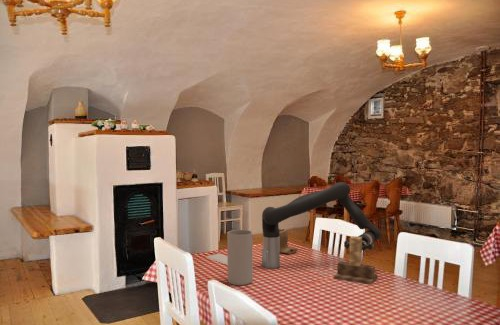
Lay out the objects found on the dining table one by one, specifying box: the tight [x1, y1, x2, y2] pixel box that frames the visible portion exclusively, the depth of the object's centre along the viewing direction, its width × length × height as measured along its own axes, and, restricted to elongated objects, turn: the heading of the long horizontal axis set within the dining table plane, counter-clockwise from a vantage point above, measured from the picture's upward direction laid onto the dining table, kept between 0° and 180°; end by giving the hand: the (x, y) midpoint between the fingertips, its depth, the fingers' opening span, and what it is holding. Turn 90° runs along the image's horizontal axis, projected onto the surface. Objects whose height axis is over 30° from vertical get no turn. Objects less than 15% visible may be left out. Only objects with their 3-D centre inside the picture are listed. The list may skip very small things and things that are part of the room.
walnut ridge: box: [333, 261, 378, 285], centre depth 229 cm, size 19×12×7 cm, turn 60°
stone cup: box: [279, 228, 299, 255], centre depth 282 cm, size 15×12×15 cm
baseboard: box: [204, 252, 228, 266], centre depth 262 cm, size 31×3×12 cm
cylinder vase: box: [226, 229, 254, 286], centre depth 224 cm, size 12×12×25 cm
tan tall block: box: [348, 235, 363, 266], centre depth 229 cm, size 5×5×14 cm
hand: (354, 247), depth 227 cm, fingers open, 8 cm apart
